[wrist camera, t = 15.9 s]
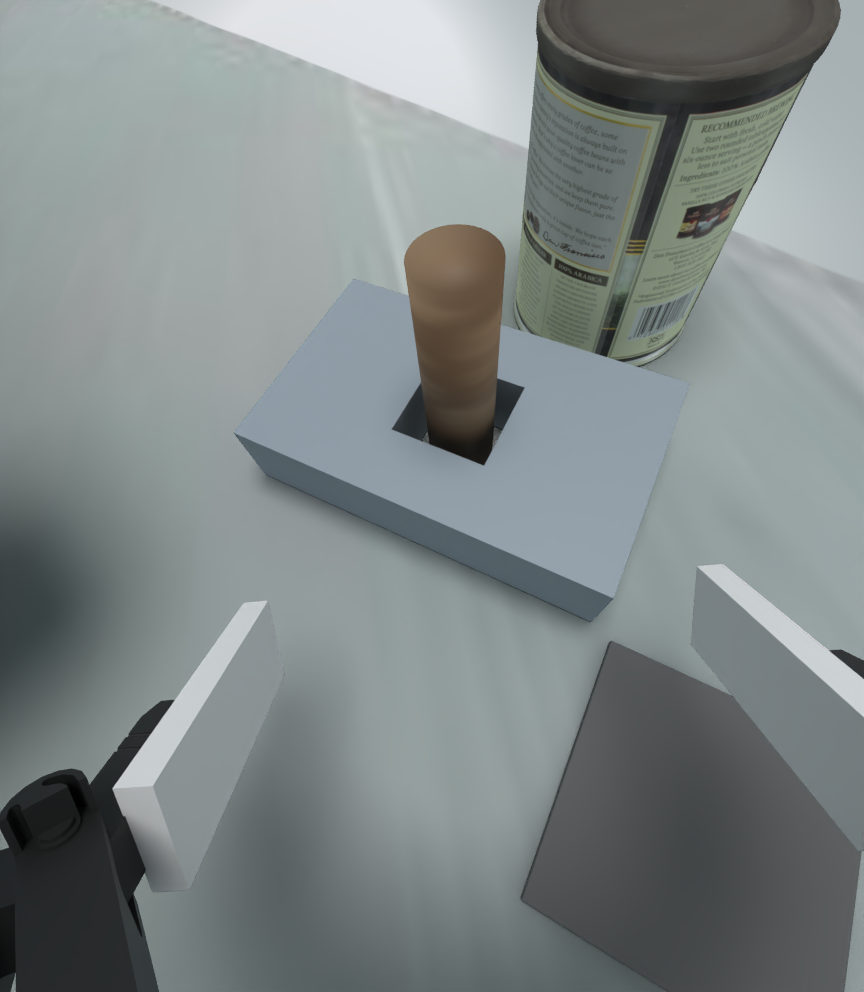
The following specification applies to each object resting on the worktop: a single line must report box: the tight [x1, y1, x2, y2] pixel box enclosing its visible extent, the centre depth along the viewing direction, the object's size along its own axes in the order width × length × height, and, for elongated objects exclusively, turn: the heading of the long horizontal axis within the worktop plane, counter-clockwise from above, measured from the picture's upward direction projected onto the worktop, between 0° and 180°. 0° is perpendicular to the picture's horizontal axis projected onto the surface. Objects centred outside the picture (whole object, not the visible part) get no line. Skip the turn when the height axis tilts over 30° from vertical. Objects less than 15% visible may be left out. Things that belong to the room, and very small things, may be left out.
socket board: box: [234, 279, 690, 622], centre depth 25 cm, size 18×11×4 cm, turn 63°
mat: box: [521, 641, 861, 992], centre depth 18 cm, size 10×10×1 cm
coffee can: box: [514, 0, 841, 366], centre depth 24 cm, size 10×10×14 cm
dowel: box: [404, 225, 505, 466], centre depth 21 cm, size 3×3×12 cm
